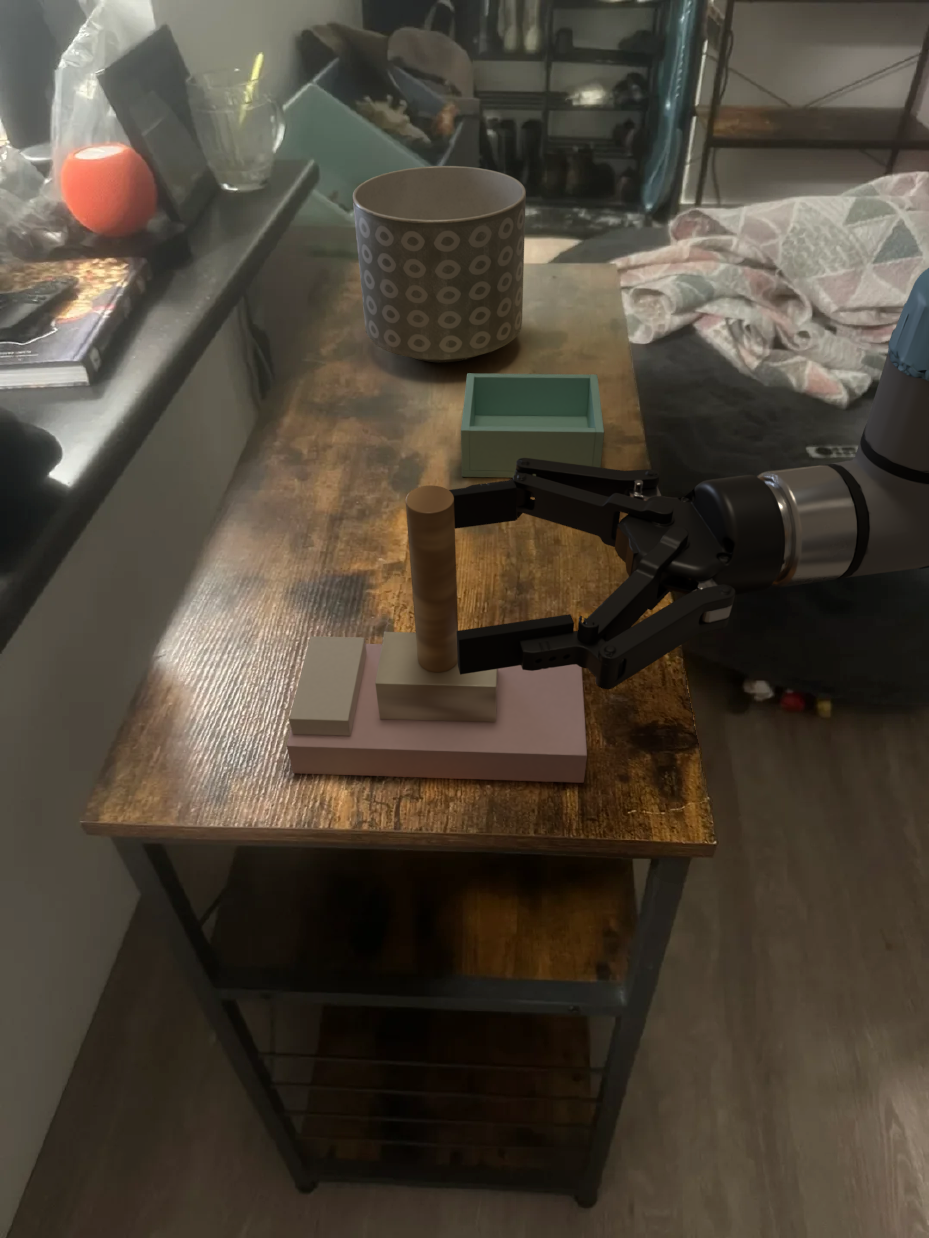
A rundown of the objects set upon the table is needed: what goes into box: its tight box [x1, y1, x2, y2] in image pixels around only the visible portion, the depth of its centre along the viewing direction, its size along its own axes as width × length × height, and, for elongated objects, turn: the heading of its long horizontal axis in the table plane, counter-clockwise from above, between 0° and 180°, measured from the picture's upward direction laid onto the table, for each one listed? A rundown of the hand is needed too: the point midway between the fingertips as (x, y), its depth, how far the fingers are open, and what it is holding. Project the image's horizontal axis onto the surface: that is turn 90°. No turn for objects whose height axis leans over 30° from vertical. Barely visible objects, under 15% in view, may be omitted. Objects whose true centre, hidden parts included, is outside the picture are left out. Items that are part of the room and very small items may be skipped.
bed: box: [286, 635, 588, 784], centre depth 62 cm, size 20×10×5 cm, turn 87°
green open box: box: [460, 372, 605, 479], centre depth 90 cm, size 14×12×5 cm
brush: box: [375, 485, 498, 722], centre depth 56 cm, size 8×5×17 cm, turn 87°
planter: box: [352, 165, 527, 364], centre depth 103 cm, size 19×19×18 cm
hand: (436, 577), depth 54 cm, fingers open, 13 cm apart
